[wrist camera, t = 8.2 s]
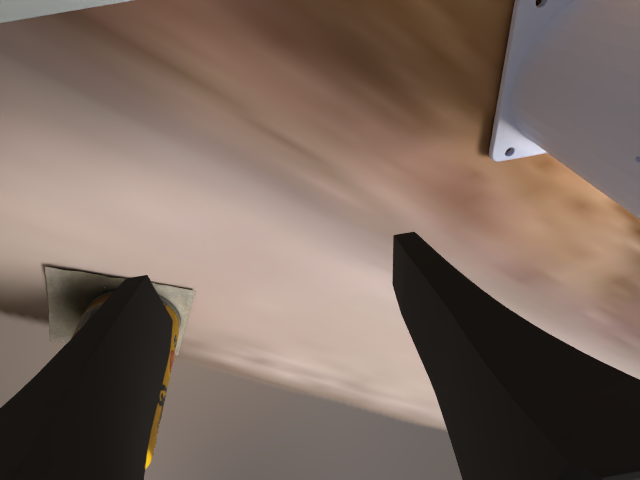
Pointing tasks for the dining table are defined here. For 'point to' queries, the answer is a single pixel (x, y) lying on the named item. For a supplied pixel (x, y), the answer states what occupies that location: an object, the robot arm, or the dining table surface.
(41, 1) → the socket
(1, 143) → the dining table surface
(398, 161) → the dining table surface
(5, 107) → the dining table surface
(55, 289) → the condiment
